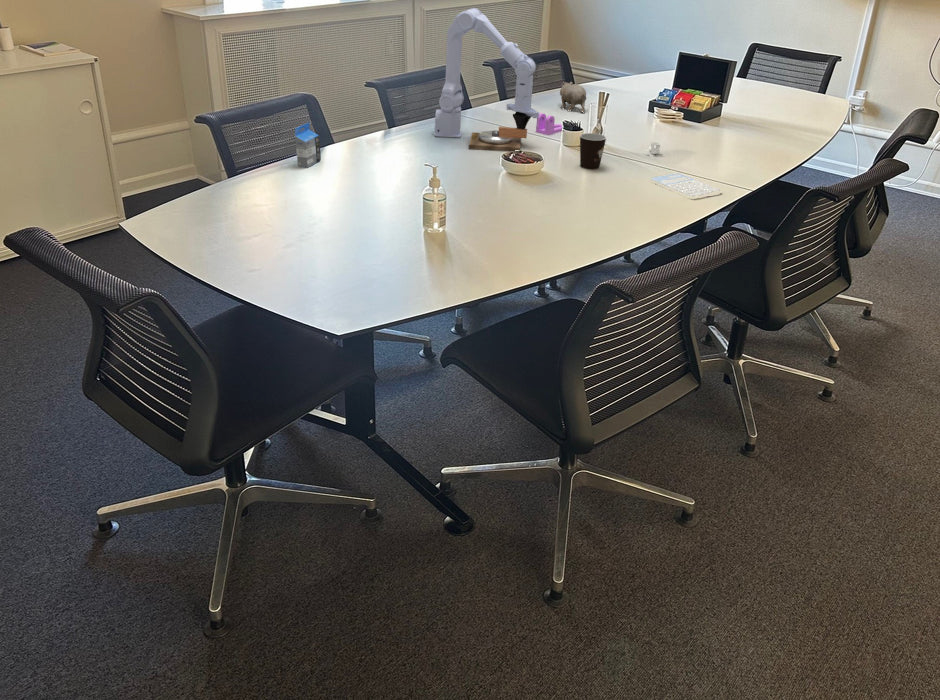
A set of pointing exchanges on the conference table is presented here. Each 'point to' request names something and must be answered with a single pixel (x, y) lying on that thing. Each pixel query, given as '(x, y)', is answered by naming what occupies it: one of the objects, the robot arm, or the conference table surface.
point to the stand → (480, 145)
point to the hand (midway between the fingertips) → (520, 134)
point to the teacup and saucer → (654, 148)
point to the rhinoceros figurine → (573, 95)
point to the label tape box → (307, 146)
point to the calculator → (684, 184)
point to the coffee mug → (591, 150)
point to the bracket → (547, 125)
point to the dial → (502, 135)
